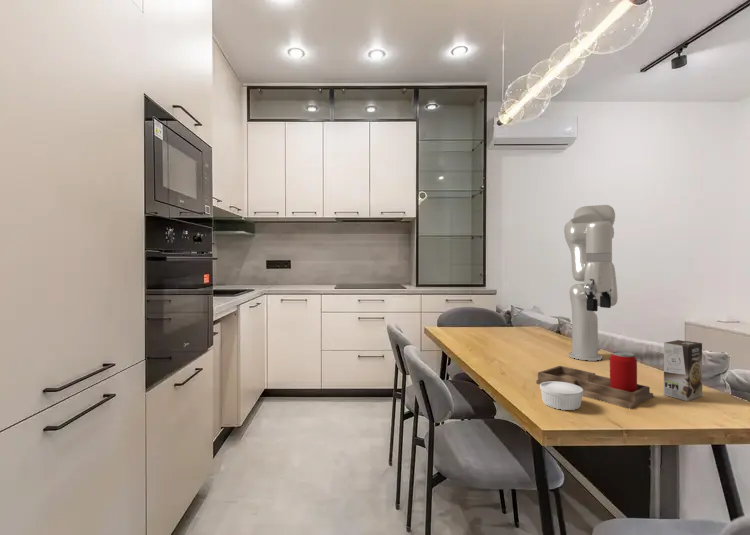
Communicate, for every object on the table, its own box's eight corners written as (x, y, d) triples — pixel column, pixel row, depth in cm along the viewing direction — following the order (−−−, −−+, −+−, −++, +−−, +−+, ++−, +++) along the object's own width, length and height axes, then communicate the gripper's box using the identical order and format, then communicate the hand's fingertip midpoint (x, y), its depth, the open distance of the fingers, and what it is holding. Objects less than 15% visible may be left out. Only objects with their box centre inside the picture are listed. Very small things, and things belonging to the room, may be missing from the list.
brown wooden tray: (536, 383, 125) (536, 372, 125) (561, 374, 134) (561, 365, 134) (630, 408, 102) (630, 396, 102) (653, 396, 112) (653, 385, 111)
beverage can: (628, 389, 114) (628, 350, 114) (642, 397, 107) (642, 356, 107) (605, 389, 115) (605, 350, 115) (617, 397, 108) (617, 356, 108)
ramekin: (548, 395, 114) (548, 378, 114) (589, 404, 106) (589, 386, 106) (533, 405, 106) (533, 386, 106) (575, 416, 98) (575, 396, 98)
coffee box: (688, 401, 107) (688, 346, 107) (662, 395, 113) (662, 342, 113) (703, 396, 111) (703, 342, 111) (678, 390, 117) (677, 339, 117)
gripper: (598, 257, 133) (598, 305, 134) (574, 259, 123) (574, 310, 124) (622, 257, 127) (622, 307, 127) (598, 259, 117) (599, 313, 117)
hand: (598, 309), depth 126 cm, fingers open, 9 cm apart
